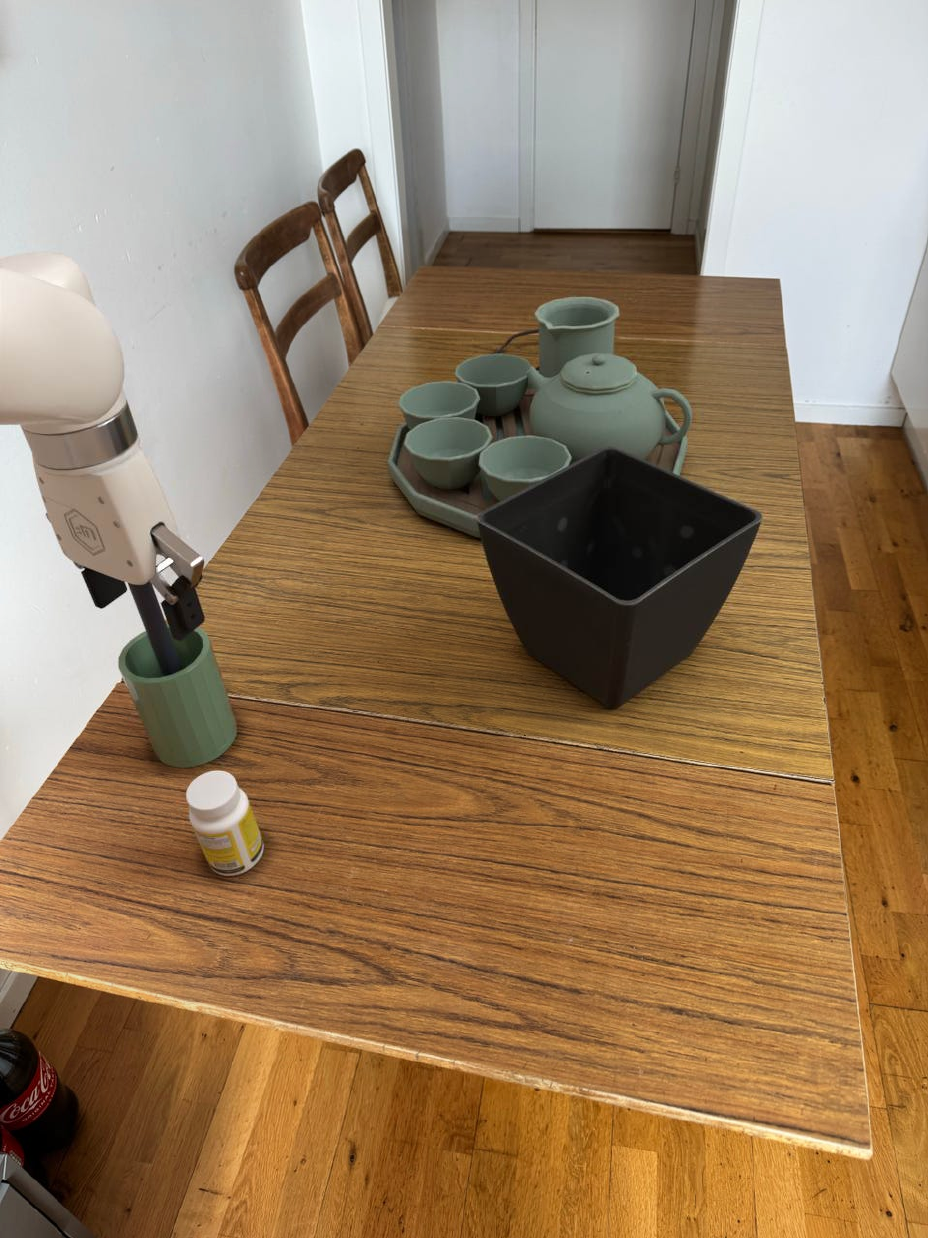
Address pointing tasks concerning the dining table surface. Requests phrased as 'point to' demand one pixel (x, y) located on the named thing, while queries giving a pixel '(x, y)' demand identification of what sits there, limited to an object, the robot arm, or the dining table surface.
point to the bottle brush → (156, 628)
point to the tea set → (530, 417)
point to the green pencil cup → (180, 700)
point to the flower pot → (615, 568)
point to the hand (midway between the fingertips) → (150, 614)
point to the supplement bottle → (224, 823)
